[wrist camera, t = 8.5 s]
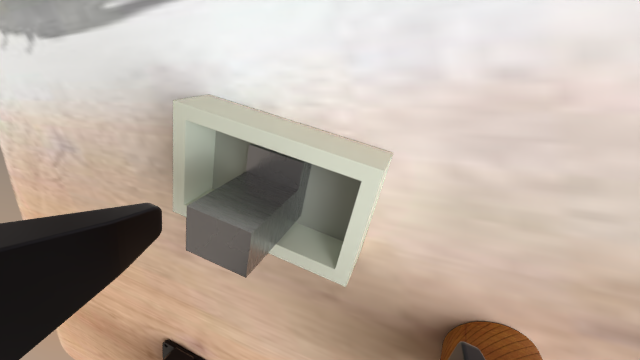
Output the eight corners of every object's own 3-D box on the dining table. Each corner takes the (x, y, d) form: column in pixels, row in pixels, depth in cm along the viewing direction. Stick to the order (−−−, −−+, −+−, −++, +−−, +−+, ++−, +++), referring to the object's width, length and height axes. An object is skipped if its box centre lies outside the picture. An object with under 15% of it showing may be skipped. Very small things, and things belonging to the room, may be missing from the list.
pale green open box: (358, 256, 23) (345, 287, 20) (204, 193, 26) (172, 211, 23) (393, 153, 20) (384, 170, 16) (209, 94, 23) (173, 100, 20)
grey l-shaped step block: (301, 215, 23) (246, 277, 17) (255, 198, 24) (185, 250, 18) (313, 155, 21) (256, 198, 15) (262, 138, 22) (187, 172, 16)
